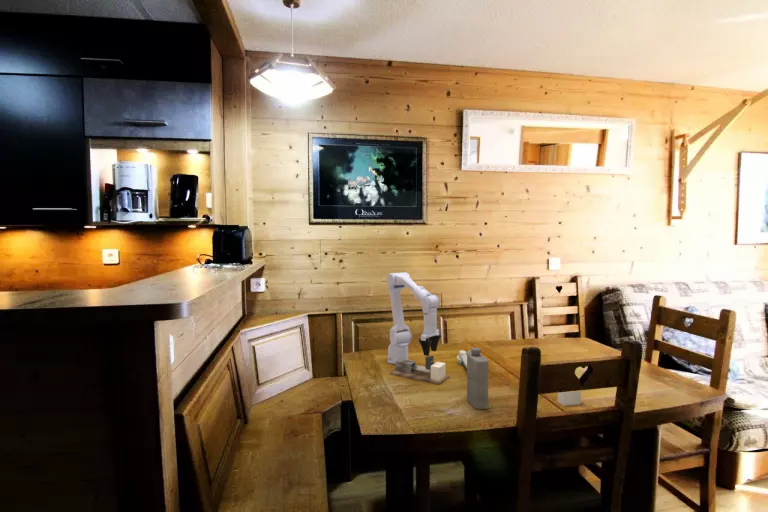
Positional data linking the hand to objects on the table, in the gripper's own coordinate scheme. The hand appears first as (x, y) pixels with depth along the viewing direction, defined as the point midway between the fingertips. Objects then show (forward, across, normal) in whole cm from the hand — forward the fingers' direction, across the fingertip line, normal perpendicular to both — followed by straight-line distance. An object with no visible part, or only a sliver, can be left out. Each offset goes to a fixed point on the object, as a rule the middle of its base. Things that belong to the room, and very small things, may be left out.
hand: (430, 353), depth 173 cm
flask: (+10, -16, -26) cm, 32 cm away
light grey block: (+10, +1, -56) cm, 57 cm away
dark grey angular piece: (+8, -3, +2) cm, 9 cm away
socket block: (+10, -3, -5) cm, 12 cm away
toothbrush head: (+11, +16, -12) cm, 23 cm away
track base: (+10, -3, +4) cm, 11 cm away
